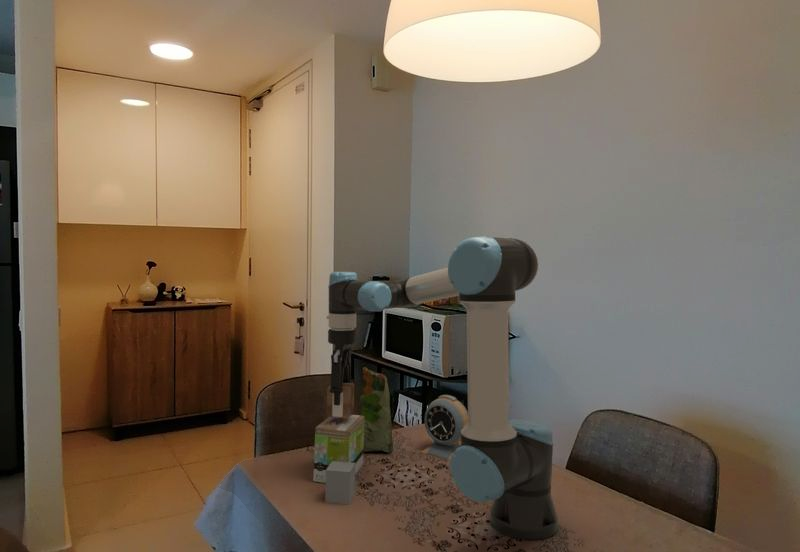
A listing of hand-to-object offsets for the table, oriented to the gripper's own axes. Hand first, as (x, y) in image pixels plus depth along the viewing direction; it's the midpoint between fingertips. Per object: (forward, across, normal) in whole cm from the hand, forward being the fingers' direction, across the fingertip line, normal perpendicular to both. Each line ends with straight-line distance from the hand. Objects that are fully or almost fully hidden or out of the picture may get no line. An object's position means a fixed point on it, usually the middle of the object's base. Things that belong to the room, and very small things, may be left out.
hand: (340, 412), depth 154 cm
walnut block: (0, 0, 0) cm, 0 cm away
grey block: (+17, +15, +4) cm, 23 cm away
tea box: (+17, 0, 0) cm, 17 cm away
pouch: (+17, -20, +6) cm, 27 cm away
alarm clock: (+17, -22, +28) cm, 39 cm away
